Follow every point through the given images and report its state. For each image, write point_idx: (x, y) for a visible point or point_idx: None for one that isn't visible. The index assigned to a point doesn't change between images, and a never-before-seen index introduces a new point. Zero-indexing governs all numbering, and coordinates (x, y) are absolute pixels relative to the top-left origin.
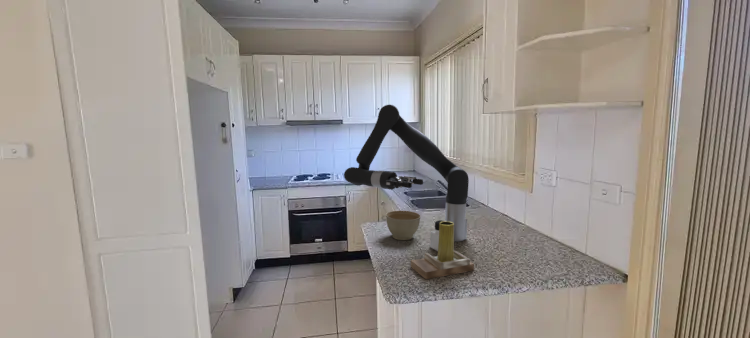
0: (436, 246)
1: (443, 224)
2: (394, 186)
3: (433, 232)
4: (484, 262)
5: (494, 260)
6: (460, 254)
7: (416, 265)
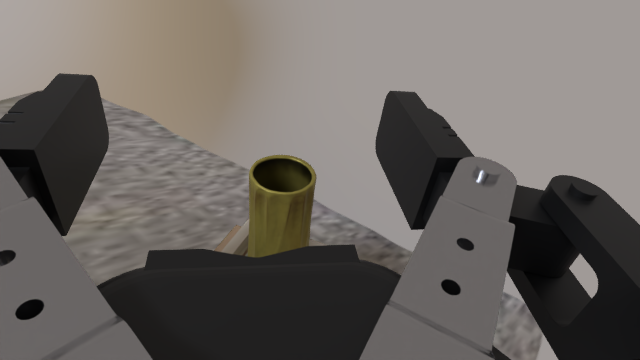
0: None
1: (266, 200)
2: (584, 290)
3: None
4: (151, 240)
5: (115, 227)
6: (229, 248)
7: None
